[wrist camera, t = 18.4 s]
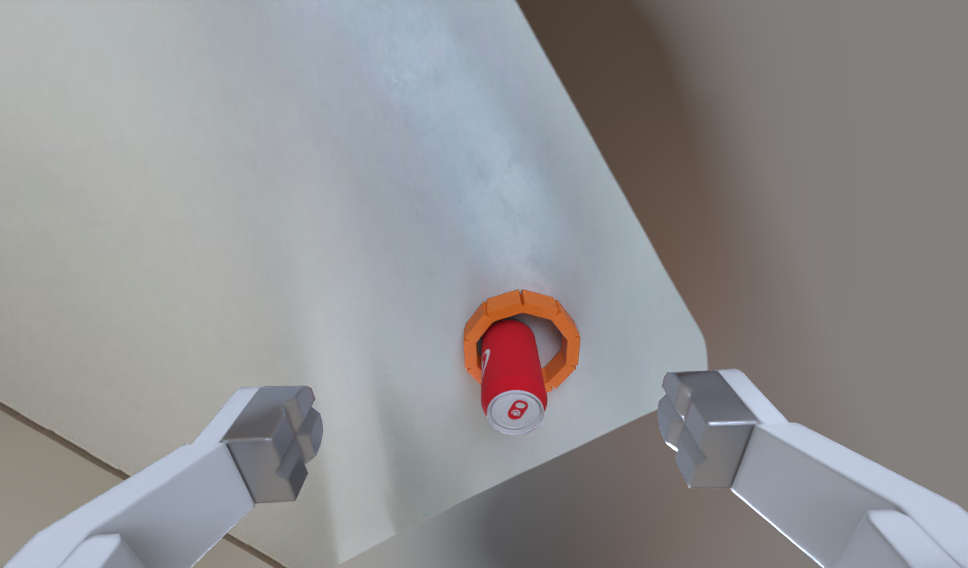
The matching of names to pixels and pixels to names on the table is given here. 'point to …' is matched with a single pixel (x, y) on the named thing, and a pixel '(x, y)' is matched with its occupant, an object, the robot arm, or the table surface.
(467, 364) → the ring
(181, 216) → the table surface
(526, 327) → the beverage can
